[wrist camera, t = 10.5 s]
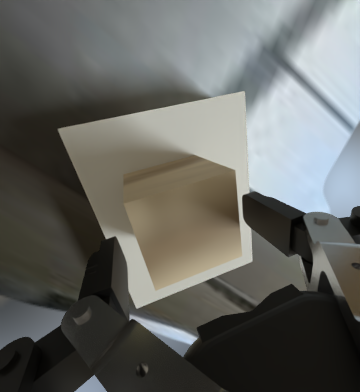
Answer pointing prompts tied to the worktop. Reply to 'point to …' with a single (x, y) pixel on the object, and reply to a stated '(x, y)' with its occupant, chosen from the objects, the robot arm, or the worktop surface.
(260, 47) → the worktop surface
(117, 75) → the worktop surface
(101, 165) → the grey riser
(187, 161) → the maple block
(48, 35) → the worktop surface
